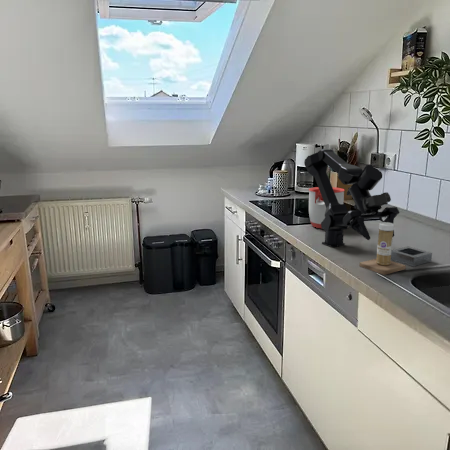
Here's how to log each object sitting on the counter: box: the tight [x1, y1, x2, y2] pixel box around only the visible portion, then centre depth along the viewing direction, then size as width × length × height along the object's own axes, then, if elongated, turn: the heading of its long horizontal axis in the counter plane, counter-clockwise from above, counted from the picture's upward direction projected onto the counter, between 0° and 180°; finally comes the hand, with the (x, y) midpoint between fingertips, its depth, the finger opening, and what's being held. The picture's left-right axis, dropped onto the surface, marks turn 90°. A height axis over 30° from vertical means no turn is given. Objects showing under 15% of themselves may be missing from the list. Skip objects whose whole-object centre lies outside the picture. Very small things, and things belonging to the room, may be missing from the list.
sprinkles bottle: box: [376, 221, 395, 265], centre depth 137 cm, size 5×5×14 cm
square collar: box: [391, 245, 433, 267], centre depth 145 cm, size 9×9×3 cm
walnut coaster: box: [358, 257, 407, 276], centre depth 138 cm, size 10×10×1 cm
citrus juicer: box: [308, 186, 345, 229], centre depth 190 cm, size 16×17×20 cm
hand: (381, 238), depth 138 cm, fingers open, 9 cm apart
